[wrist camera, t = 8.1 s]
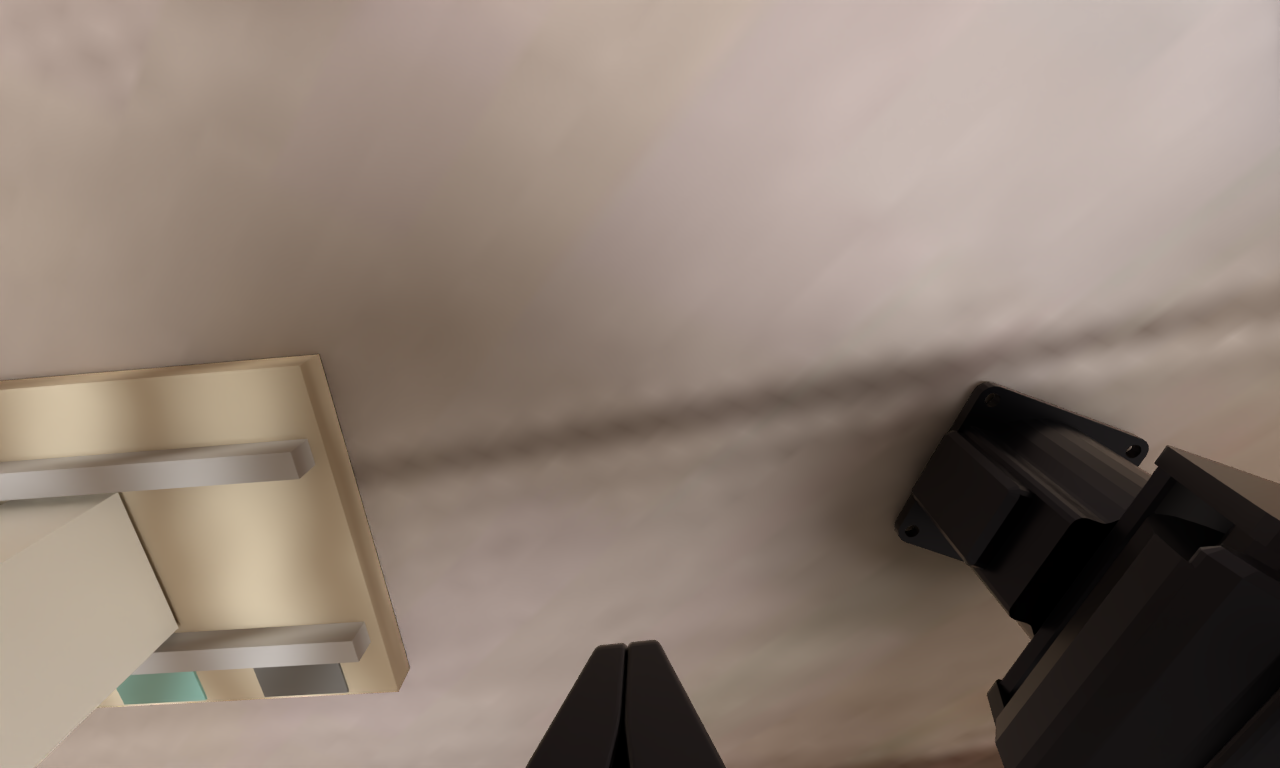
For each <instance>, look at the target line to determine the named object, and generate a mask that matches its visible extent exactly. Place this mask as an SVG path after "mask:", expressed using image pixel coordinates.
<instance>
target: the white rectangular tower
mask: <svg viewBox="0 0 1280 768" xmlns="http://www.w3.org/2000/svg"><path fill="white" fill-rule="evenodd" d="M177 629H178V625H177V623H176V621H175V619H174V617H173V614H172V612H171V610H170V608H169V605H168V603H167V601H166V599H165V596H164V594H163V592H162V590H161V588H160V585H159V583H158V581H157V579H156V576H155V574H154V572H153V570H152V567H151V565H150V563H149V561H148V559H147V556H146V554H145V552H144V550H143V547H142V545H141V543H140V541H139V538H138V536H137V534H136V532H135V530H134V527H133V525H132V523H131V521H130V518H129V516H128V514H127V512H126V509H125V507H124V505H123V503H122V501H121V498H120V496H119V494H118V492H115V493H102V494H88V495H74V496H60V497H47V498H33V499H19V500H9V501H7V502H5V503H3V504H1V505H0V768H35V767H36V766H37V765H38V764H39V763H40V762H42V761H43V760H44V759H45V758H46V757H47V756H48V755H49V754H50V753H51V752H52V751H53V750H54V749H55V748H56V747H57V746H58V745H59V744H60V743H61V742H62V741H63V740H64V739H65V738H66V737H67V736H68V735H69V734H70V733H71V732H72V731H73V730H74V729H75V728H76V727H77V726H78V725H79V724H80V723H81V722H83V721H84V720H85V719H86V718H87V717H88V716H89V715H90V714H91V713H92V712H93V711H94V710H95V709H96V708H97V707H98V706H99V705H100V704H101V703H102V702H103V701H104V700H105V699H106V698H107V697H108V696H109V695H110V694H111V693H112V692H113V691H114V690H115V689H116V688H117V687H118V686H119V685H120V684H121V683H122V682H124V681H125V680H126V679H127V678H128V677H129V676H130V675H131V674H132V673H133V672H134V671H135V670H136V669H137V668H138V667H139V666H140V665H141V664H142V663H143V662H144V661H145V660H146V659H147V658H148V657H149V656H150V655H151V654H152V653H153V652H154V651H155V650H156V649H157V648H158V647H159V646H160V645H161V644H162V643H163V642H165V641H166V640H167V639H168V638H169V637H170V636H171V635H172V634H173V633H174V632H175V631H176V630H177Z"/></svg>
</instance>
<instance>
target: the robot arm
mask: <svg viewBox="0 0 1280 768" xmlns="http://www.w3.org/2000/svg"><path fill="white" fill-rule="evenodd" d="M992 393H994V397H993V399H992V400H991V401H990V402H987V403H985V399H986V397H987V396H988V395H989V394H992ZM1130 446H1132V448H1131V449H1130V450H1129V451H1128V452H1126V450H1127V449H1128V448H1129V447H1130ZM1148 449H1149V446H1148V444H1147V442H1146V441H1144V440H1143V439H1141V438H1139V437H1138V436H1136V435H1134V434H1132V433H1129V432H1126V431H1123V430H1121V429H1118V428H1115V427H1113V426H1110V425H1107V424H1104V423H1102V422H1099V421H1096V420H1094V419H1091V418H1088V417H1085V416H1083V415H1080V414H1077V413H1075V412H1072V411H1069V410H1066V409H1064V408H1061V407H1058V406H1056V405H1053V404H1050V403H1047V402H1045V401H1042V400H1039V399H1037V398H1034V397H1031V396H1028V395H1026V394H1023V393H1020V392H1018V391H1015V390H1012V389H1009V388H1007V387H1004V386H1001V385H999V384H996V383H992V382H987V383H982V384H981V385H979V386H977V388H976V389H975V390H974V391H973V393H972V394H971V396H970V398H969V399H968V401H967V403H966V404H965V406H964V408H963V409H962V411H961V413H960V414H959V416H958V418H957V419H956V421H955V423H954V424H953V426H952V428H951V429H950V431H949V433H947V434H945V436H944V437H943V439H942V441H941V442H940V444H939V446H938V447H937V449H936V451H935V452H934V454H933V456H932V457H931V459H930V461H929V462H928V464H927V466H926V468H925V469H924V471H923V473H922V474H921V476H920V478H919V479H918V481H917V483H916V484H915V486H914V488H913V490H912V492H913V493H912V495H911V496H910V498H909V500H908V501H907V503H906V505H905V506H904V508H903V510H902V511H901V513H900V515H899V516H898V518H897V520H896V522H895V524H894V528H895V531H896V533H897V534H898V536H899V537H900V538H901V540H903V541H904V542H907V543H910V544H913V545H916V546H919V547H922V548H925V549H928V550H931V551H934V552H937V553H940V554H943V555H946V556H949V557H952V558H955V559H958V560H961V561H964V562H965V563H966V564H967V565H969V566H970V567H971V568H972V569H973V571H974V572H975V573H976V574H977V576H978V577H979V578H980V580H981V581H982V582H983V583H984V585H985V586H986V587H987V588H988V590H989V591H990V592H991V593H992V595H993V596H994V597H995V598H996V600H997V601H998V602H999V603H1000V605H1001V606H1002V607H1003V609H1004V610H1005V611H1006V612H1007V614H1008V615H1009V616H1010V617H1011V618H1013V619H1014V620H1016V621H1017V622H1018V624H1019V625H1020V626H1021V627H1022V629H1023V630H1024V631H1025V632H1026V634H1027V635H1028V636H1029V637H1030V639H1031V641H1030V642H1029V644H1028V645H1027V647H1026V648H1025V649H1024V651H1023V652H1022V653H1021V655H1020V656H1019V657H1018V659H1017V660H1016V662H1015V663H1014V664H1013V666H1012V667H1011V668H1010V670H1009V671H1008V673H1007V674H1006V675H1005V677H1004V678H1003V679H1002V680H1000V679H998V680H996V682H995V683H994V684H993V686H992V687H991V689H990V690H989V691H988V693H987V696H988V700H989V704H990V707H991V711H992V715H993V718H994V722H995V726H996V737H995V743H996V746H997V748H998V751H999V754H1000V757H1001V759H1002V762H1003V765H1004V768H1280V484H1278V483H1275V482H1273V481H1270V480H1267V479H1264V478H1261V477H1258V476H1255V475H1252V474H1250V473H1247V472H1244V471H1241V470H1238V469H1235V468H1232V467H1229V466H1227V465H1224V464H1221V463H1218V462H1215V461H1212V460H1209V459H1207V458H1204V457H1201V456H1198V455H1195V454H1192V453H1189V452H1186V451H1184V450H1181V449H1178V448H1175V447H1172V446H1169V445H1167V446H1166V448H1165V449H1164V450H1163V452H1162V453H1161V455H1160V456H1159V457H1158V459H1157V460H1156V461H1155V464H1156V465H1157V466H1158V467H1157V469H1156V470H1155V471H1154V473H1153V474H1152V475H1150V474H1149V473H1147V472H1146V471H1144V470H1142V469H1141V468H1139V467H1138V466H1139V465H1140V463H1141V462H1142V461H1143V459H1144V458H1145V457H1146V455H1147V453H1148ZM911 525H914V528H913V529H912V530H909V531H905V530H906V528H907V527H909V526H911ZM526 768H726V767H725V765H724V763H723V761H722V759H721V757H720V756H719V754H718V752H717V750H716V748H715V746H714V744H713V742H712V740H711V739H710V737H709V735H708V733H707V731H706V729H705V727H704V725H703V724H702V722H701V720H700V718H699V716H698V714H697V712H696V710H695V708H694V707H693V705H692V703H691V701H690V699H689V697H688V695H687V693H686V692H685V690H684V688H683V686H682V684H681V682H680V680H679V678H678V676H677V675H676V673H675V671H674V669H673V667H672V665H671V663H670V661H669V660H668V658H667V656H666V654H665V652H664V650H663V648H662V646H661V645H660V643H659V642H658V641H656V640H648V641H638V642H631V643H630V644H629V646H628V647H627V646H626V645H625V644H623V643H618V644H609V645H600V646H598V647H597V648H596V649H595V650H594V651H593V653H592V655H591V656H590V658H589V660H588V662H587V663H586V665H585V667H584V668H583V670H582V672H581V674H580V675H579V677H578V679H577V680H576V682H575V684H574V686H573V687H572V689H571V691H570V692H569V694H568V696H567V698H566V699H565V701H564V703H563V704H562V706H561V708H560V709H559V711H558V713H557V715H556V716H555V718H554V720H553V721H552V723H551V725H550V727H549V728H548V730H547V732H546V733H545V735H544V737H543V739H542V740H541V742H540V744H539V745H538V747H537V749H536V751H535V752H534V754H533V756H532V757H531V759H530V761H529V763H528V764H527V766H526Z"/></svg>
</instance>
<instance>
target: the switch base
mask: <svg viewBox="0 0 1280 768" xmlns="http://www.w3.org/2000/svg"><path fill="white" fill-rule="evenodd" d="M115 492H118V494H119V496H120V498H121V501H122V503H123V505H124V507H125V509H126V512H127V514H128V516H129V518H130V521H131V523H132V525H133V527H134V530H135V532H136V534H137V536H138V538H139V541H140V543H141V545H142V547H143V550H144V552H145V554H146V556H147V559H148V561H149V563H150V565H151V567H152V570H153V572H154V574H155V576H156V579H157V581H158V583H159V585H160V588H161V590H162V592H163V594H164V596H165V599H166V601H167V603H168V605H169V608H170V610H171V612H172V614H173V617H174V619H175V621H176V623H177V625H178V629H177V630H176V631H175V632H174V633H173V634H172V635H171V636H170V637H169V638H168V639H167V640H166V641H165V642H163V643H162V644H161V645H160V646H159V647H158V648H157V649H156V650H155V651H154V652H153V653H152V654H151V655H150V656H149V657H148V658H147V659H146V660H145V661H144V662H143V663H142V664H141V665H140V666H139V667H138V668H137V669H136V670H135V671H134V672H133V673H132V674H131V675H130V676H129V677H128V678H127V679H126V680H125V681H124V682H122V683H121V684H120V685H119V686H118V687H117V688H116V689H115V690H114V691H113V692H112V693H111V694H110V695H109V696H108V697H107V698H106V699H105V700H104V701H103V702H102V703H101V704H100V705H99V706H98V707H97V708H105V707H124V706H142V705H161V704H180V703H198V702H217V701H235V700H254V699H272V698H291V697H309V696H328V695H346V694H365V693H384V692H399V690H400V688H401V685H402V683H403V681H404V679H405V677H406V675H407V673H408V671H409V669H410V667H409V664H408V660H407V657H406V653H405V650H404V646H403V643H402V639H401V636H400V632H399V629H398V626H397V622H396V619H395V615H394V612H393V608H392V605H391V601H390V598H389V594H388V591H387V588H386V584H385V581H384V577H383V574H382V570H381V567H380V563H379V560H378V556H377V553H376V549H375V546H374V543H373V539H372V536H371V532H370V529H369V525H368V522H367V518H366V515H365V511H364V508H363V504H362V501H361V498H360V494H359V491H358V487H357V484H356V480H355V477H354V473H353V470H352V466H351V463H350V460H349V456H348V453H347V449H346V446H345V442H344V439H343V435H342V432H341V428H340V425H339V421H338V418H337V415H336V411H335V408H334V404H333V401H332V397H331V394H330V390H329V387H328V383H327V380H326V376H325V373H324V370H323V366H322V363H321V359H320V356H319V354H317V355H305V356H293V357H281V358H269V359H257V360H245V361H233V362H221V363H209V364H197V365H185V366H173V367H161V368H149V369H137V370H125V371H113V372H101V373H89V374H77V375H65V376H53V377H41V378H29V379H17V380H5V381H0V505H1V504H3V503H5V502H7V501H9V500H19V499H33V498H47V497H60V496H74V495H88V494H102V493H115Z"/></svg>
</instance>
